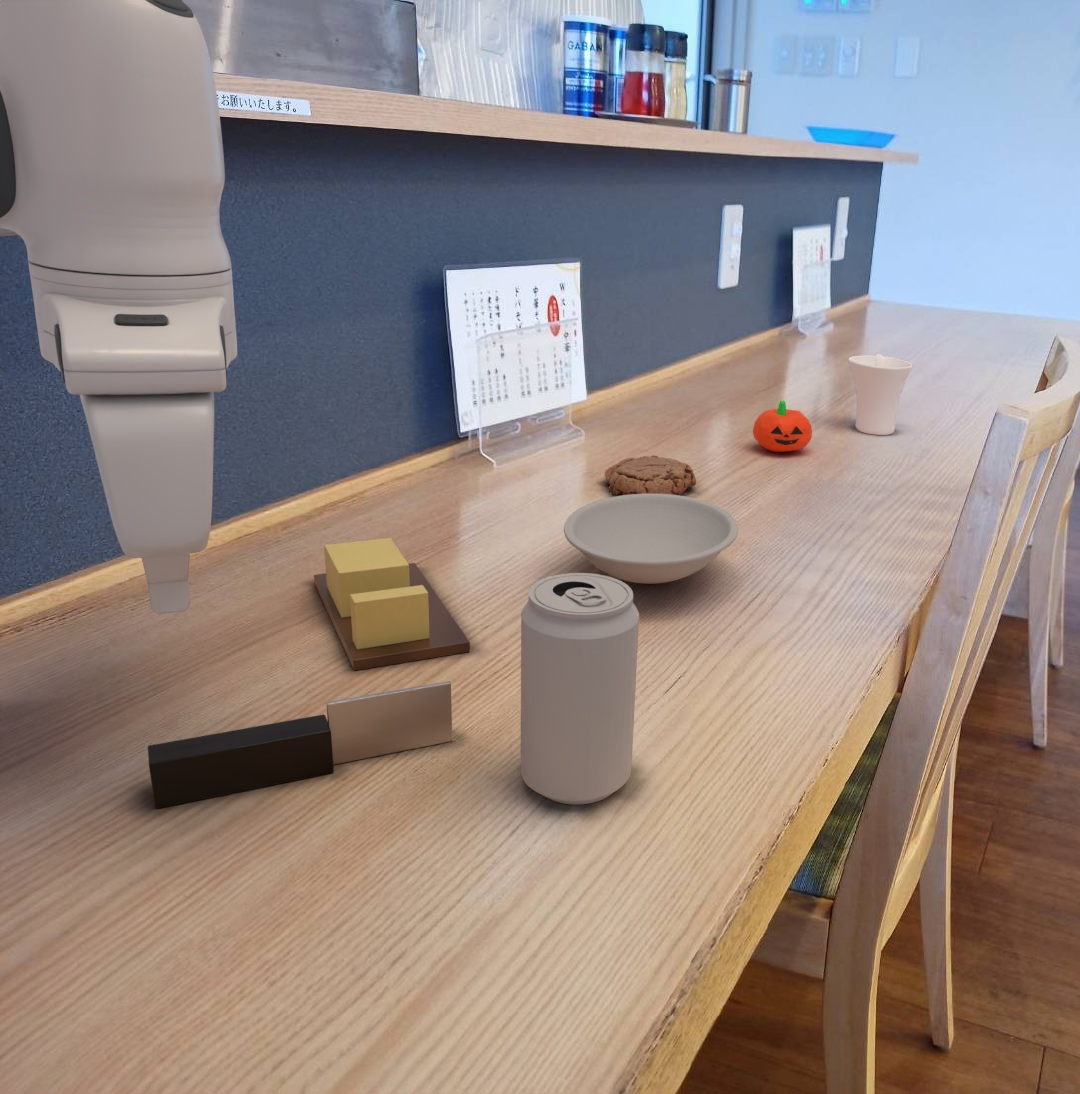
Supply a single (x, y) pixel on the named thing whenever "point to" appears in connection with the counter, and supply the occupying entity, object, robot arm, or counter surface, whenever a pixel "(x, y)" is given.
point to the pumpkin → (782, 429)
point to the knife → (300, 744)
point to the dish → (650, 535)
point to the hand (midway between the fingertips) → (165, 573)
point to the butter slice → (389, 616)
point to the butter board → (440, 642)
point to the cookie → (649, 476)
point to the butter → (363, 570)
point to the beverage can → (578, 686)
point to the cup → (878, 391)
